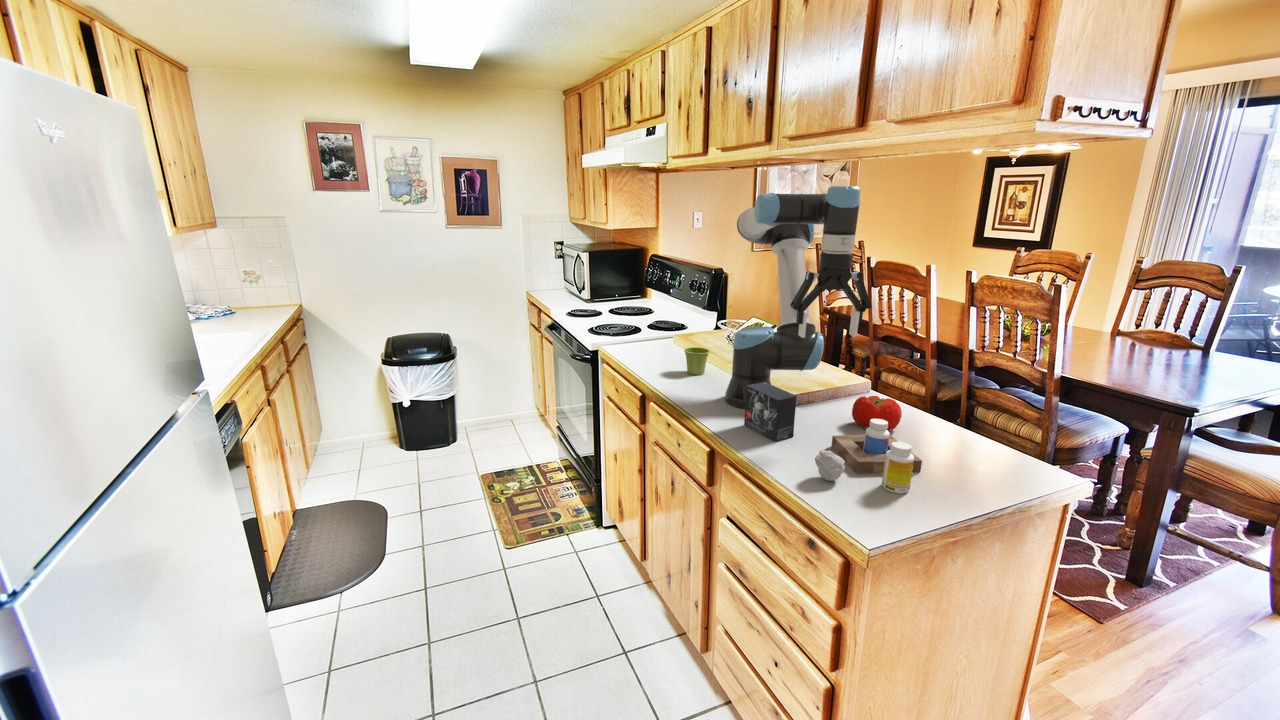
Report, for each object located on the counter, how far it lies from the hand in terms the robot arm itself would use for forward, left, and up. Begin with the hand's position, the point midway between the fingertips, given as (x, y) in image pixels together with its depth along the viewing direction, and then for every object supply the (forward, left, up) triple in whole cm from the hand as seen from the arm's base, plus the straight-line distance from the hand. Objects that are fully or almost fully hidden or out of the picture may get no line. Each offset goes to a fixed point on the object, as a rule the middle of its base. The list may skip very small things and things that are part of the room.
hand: (827, 336), depth 140 cm
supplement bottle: (+30, +6, -28) cm, 41 cm away
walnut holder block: (+15, +8, -27) cm, 32 cm away
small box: (-3, -13, -28) cm, 30 cm away
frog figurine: (+25, -7, -28) cm, 38 cm away
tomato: (-5, +18, -28) cm, 33 cm away
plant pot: (-58, -24, -28) cm, 68 cm away
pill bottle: (+15, +8, -28) cm, 33 cm away
